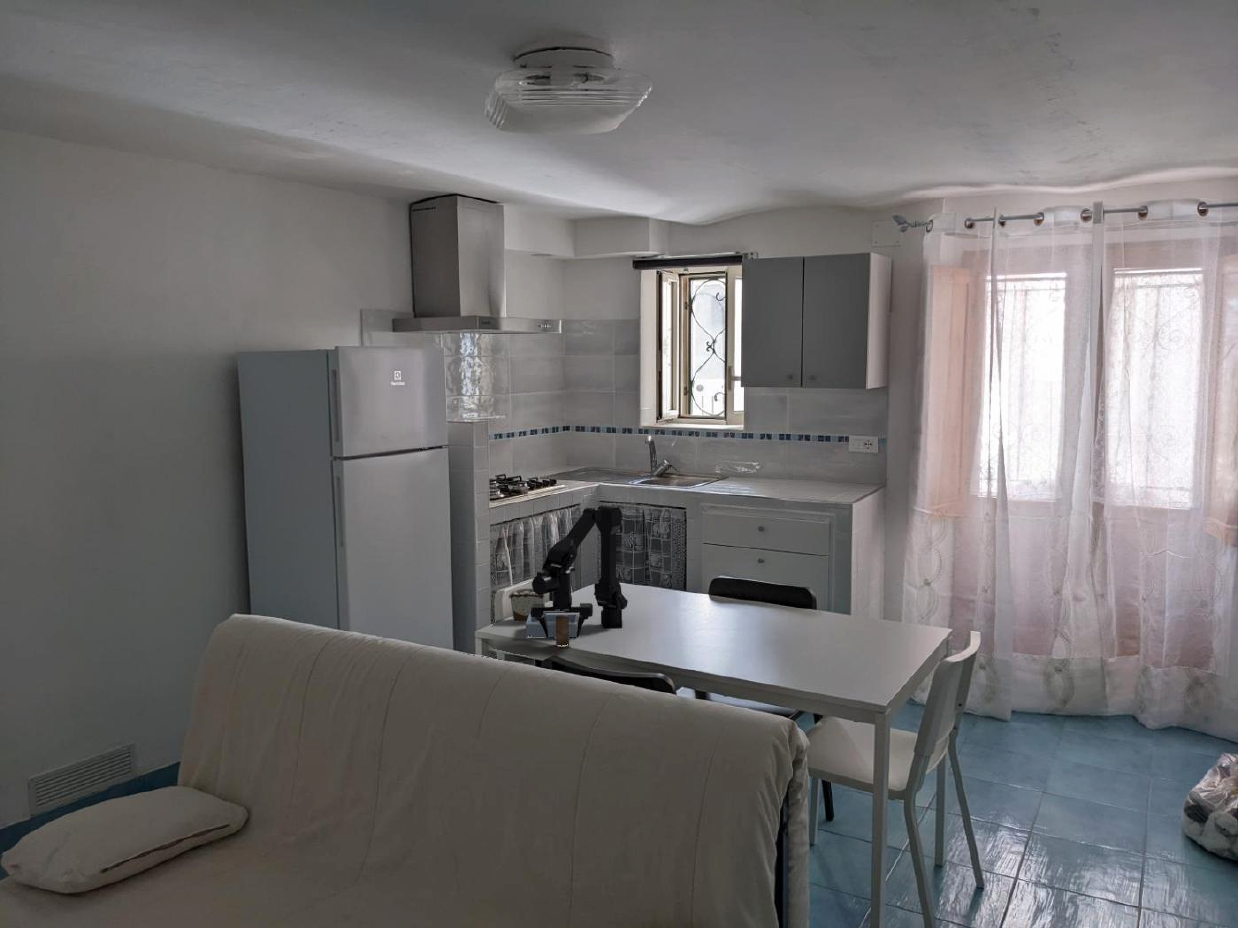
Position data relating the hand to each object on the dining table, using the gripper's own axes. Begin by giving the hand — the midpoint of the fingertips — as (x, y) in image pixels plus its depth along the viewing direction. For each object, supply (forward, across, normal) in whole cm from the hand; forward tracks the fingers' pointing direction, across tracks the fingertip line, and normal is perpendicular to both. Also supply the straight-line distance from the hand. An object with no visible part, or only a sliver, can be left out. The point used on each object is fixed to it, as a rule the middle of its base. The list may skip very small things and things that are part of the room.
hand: (562, 637), depth 292 cm
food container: (+3, +13, -27) cm, 30 cm away
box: (+2, +4, -12) cm, 13 cm away
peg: (+3, 0, 0) cm, 3 cm away
